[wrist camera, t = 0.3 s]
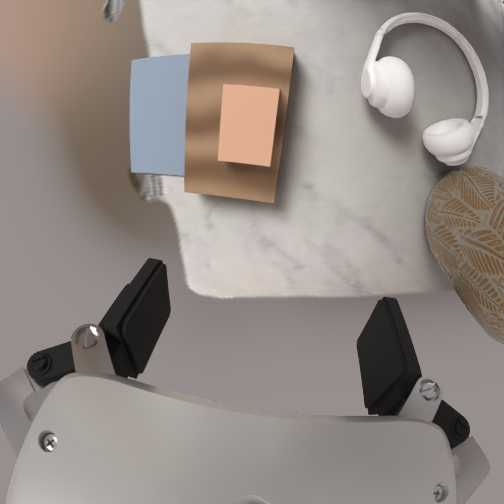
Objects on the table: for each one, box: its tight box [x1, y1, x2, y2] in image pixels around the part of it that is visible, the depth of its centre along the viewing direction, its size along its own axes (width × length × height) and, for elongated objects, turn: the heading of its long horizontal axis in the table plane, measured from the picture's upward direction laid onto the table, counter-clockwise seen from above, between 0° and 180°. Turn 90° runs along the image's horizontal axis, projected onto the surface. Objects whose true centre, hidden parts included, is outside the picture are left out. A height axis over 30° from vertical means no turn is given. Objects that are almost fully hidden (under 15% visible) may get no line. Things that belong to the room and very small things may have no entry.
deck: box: [184, 43, 294, 203], centre depth 31 cm, size 20×12×4 cm, turn 175°
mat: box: [130, 54, 190, 176], centre depth 33 cm, size 18×10×1 cm, turn 175°
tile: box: [218, 84, 280, 167], centre depth 28 cm, size 9×6×2 cm, turn 175°
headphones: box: [361, 12, 489, 166], centre depth 22 cm, size 20×8×20 cm
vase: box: [425, 166, 504, 344], centre depth 23 cm, size 17×17×27 cm
